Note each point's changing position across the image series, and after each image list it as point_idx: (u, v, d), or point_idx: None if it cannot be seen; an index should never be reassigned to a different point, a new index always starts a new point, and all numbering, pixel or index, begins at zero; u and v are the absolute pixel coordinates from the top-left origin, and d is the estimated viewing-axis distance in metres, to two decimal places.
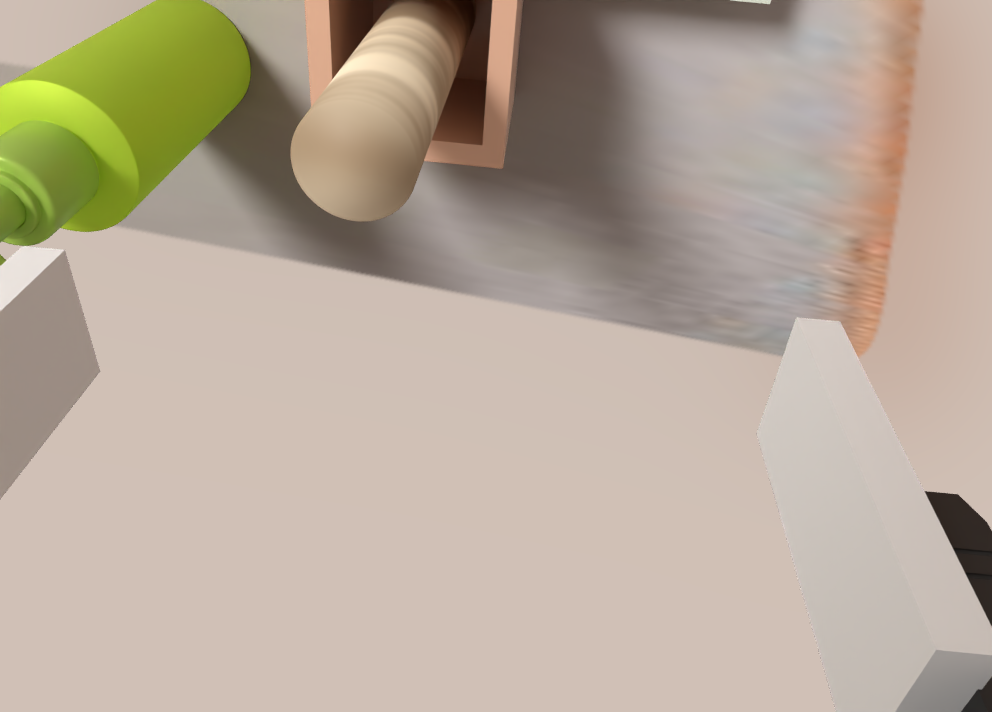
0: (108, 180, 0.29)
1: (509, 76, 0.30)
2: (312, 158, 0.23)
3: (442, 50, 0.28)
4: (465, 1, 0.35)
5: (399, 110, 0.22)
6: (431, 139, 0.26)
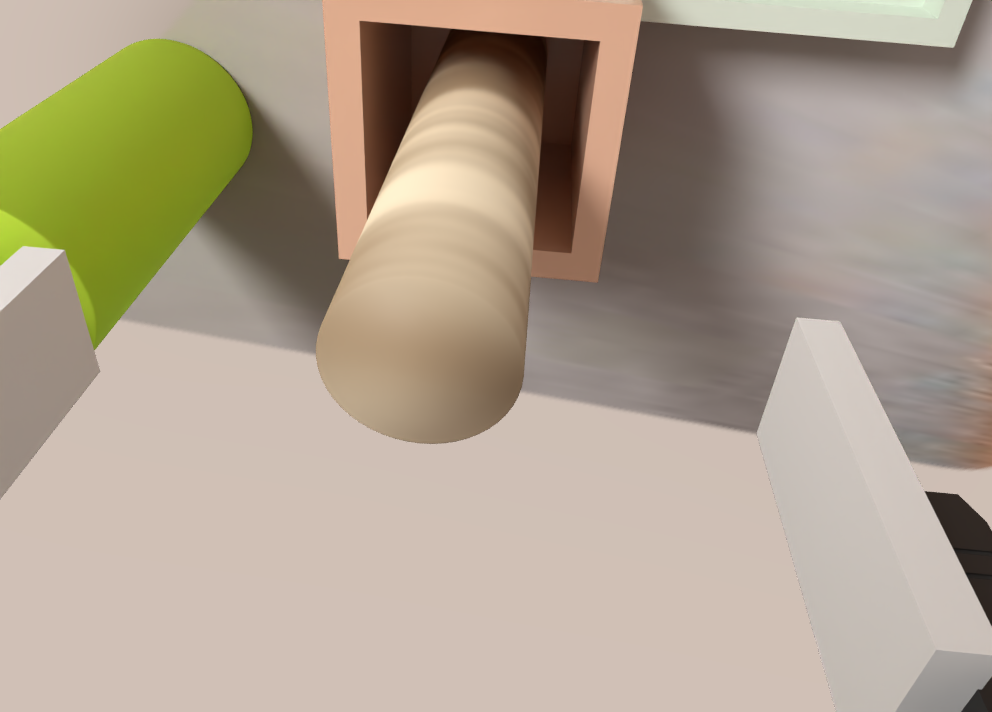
0: None
1: (615, 164, 0.22)
2: (351, 359, 0.14)
3: (528, 138, 0.20)
4: (538, 48, 0.26)
5: (494, 282, 0.14)
6: None
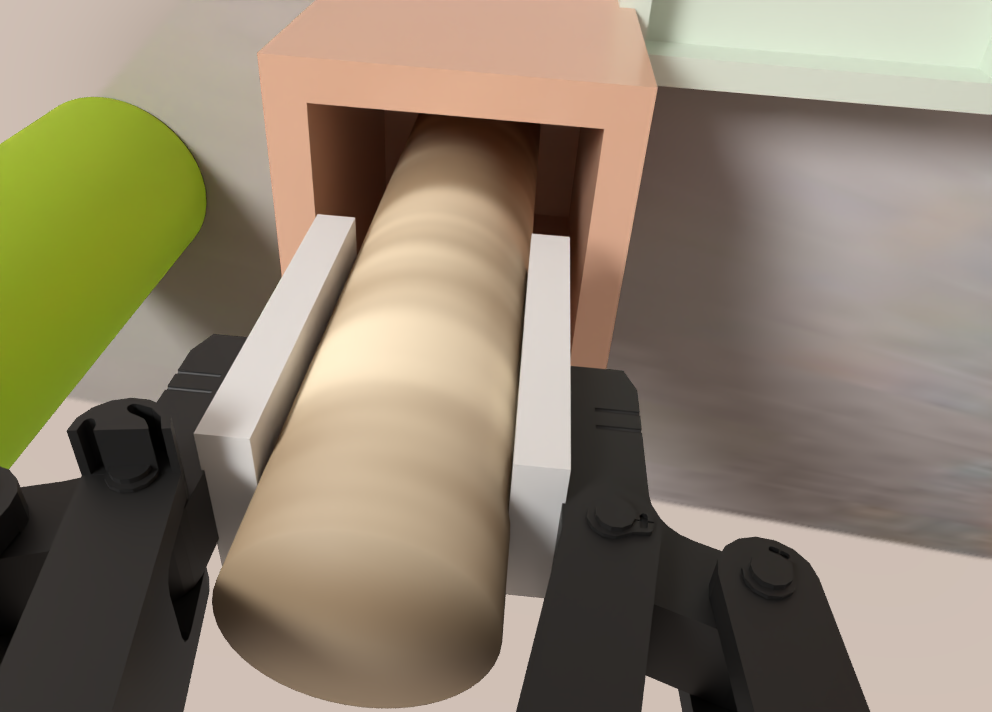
0: None
1: (621, 270, 0.18)
2: (263, 618, 0.10)
3: (515, 250, 0.16)
4: None
5: (460, 516, 0.10)
6: None
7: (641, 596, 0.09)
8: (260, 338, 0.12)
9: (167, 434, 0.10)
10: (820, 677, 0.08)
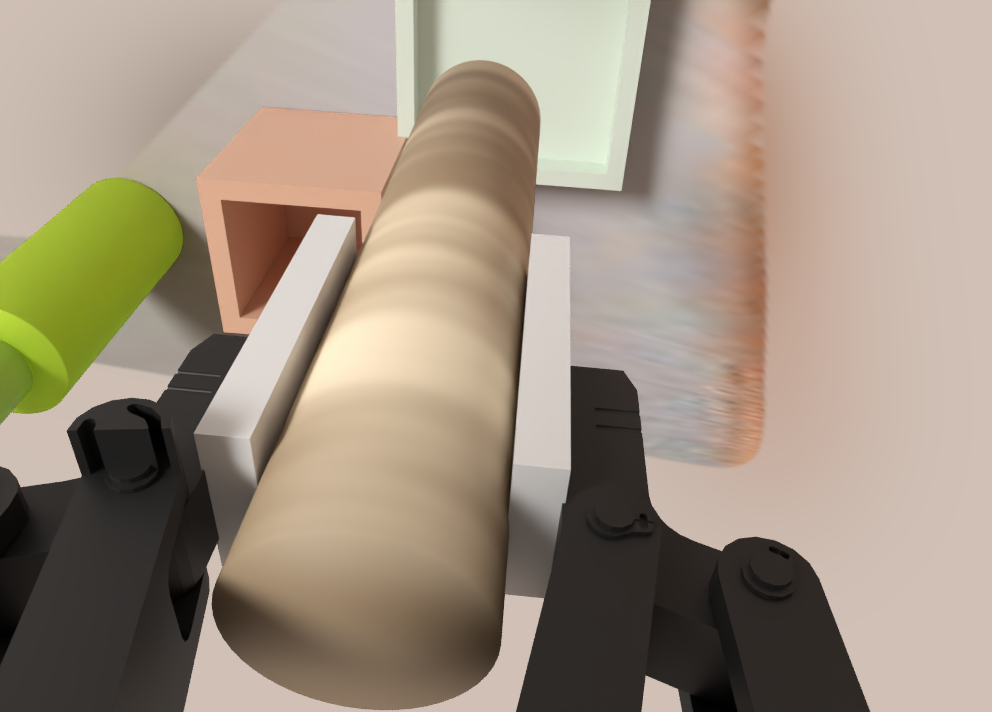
0: (41, 378, 0.35)
1: None
2: (262, 620, 0.10)
3: (514, 252, 0.16)
4: (530, 117, 0.22)
5: (459, 518, 0.10)
6: None
7: (641, 596, 0.09)
8: (260, 338, 0.12)
9: (167, 434, 0.10)
10: (820, 677, 0.08)
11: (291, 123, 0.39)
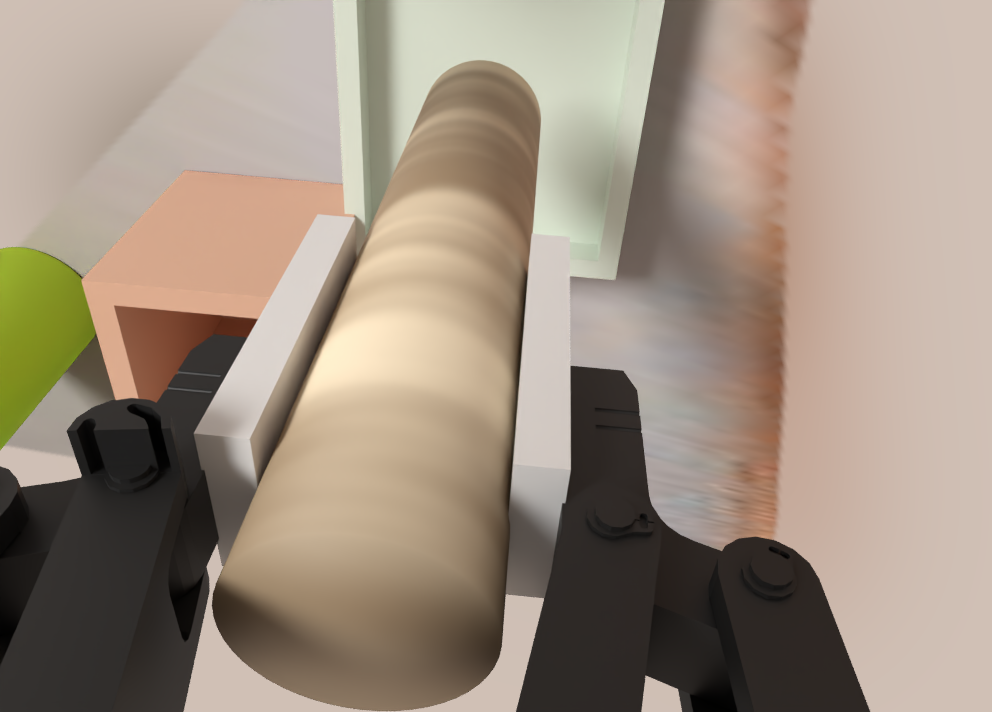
0: None
1: None
2: (263, 621, 0.10)
3: (515, 252, 0.16)
4: (530, 118, 0.22)
5: (460, 519, 0.10)
6: None
7: (641, 596, 0.09)
8: (260, 338, 0.12)
9: (167, 434, 0.10)
10: (820, 676, 0.08)
11: (216, 194, 0.32)
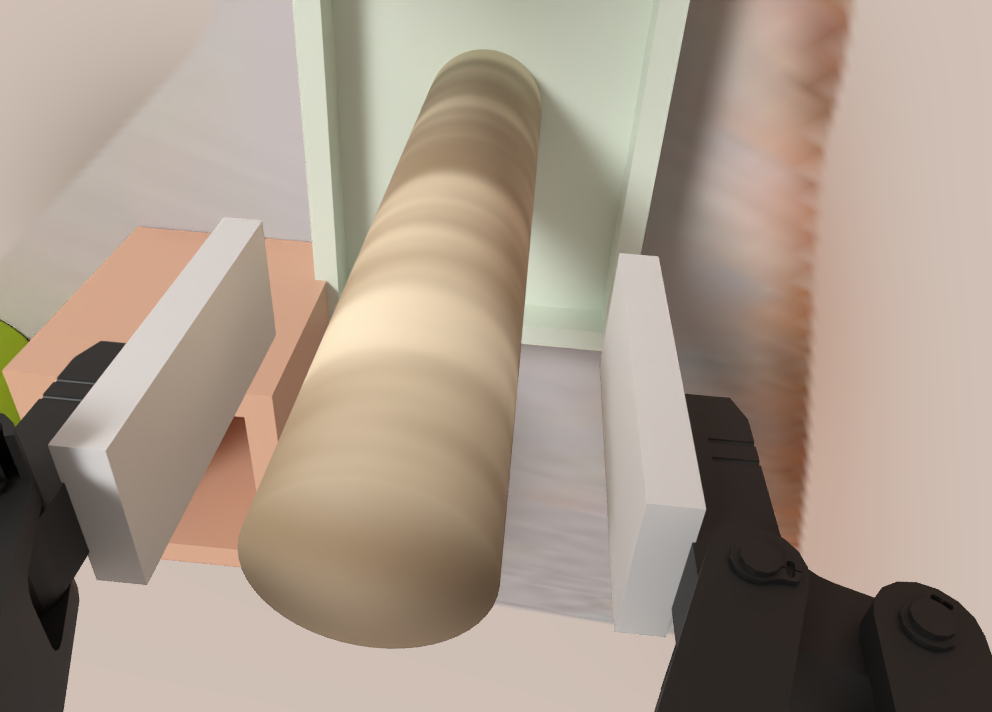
0: None
1: None
2: (283, 562, 0.11)
3: (515, 232, 0.17)
4: (531, 105, 0.23)
5: (462, 470, 0.11)
6: None
7: (784, 648, 0.09)
8: (138, 345, 0.12)
9: (11, 441, 0.10)
10: None
11: (170, 257, 0.28)
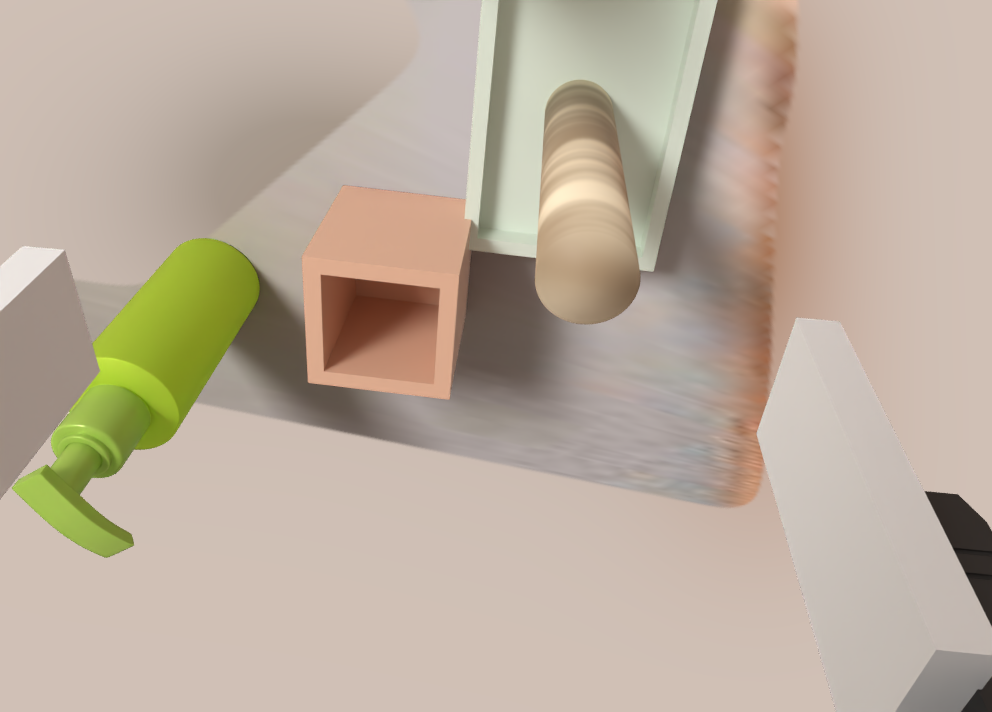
0: (156, 421, 0.40)
1: (452, 343, 0.42)
2: (553, 275, 0.27)
3: (621, 168, 0.33)
4: (612, 111, 0.40)
5: (626, 238, 0.27)
6: None
7: None
8: None
9: None
10: None
11: (371, 203, 0.45)
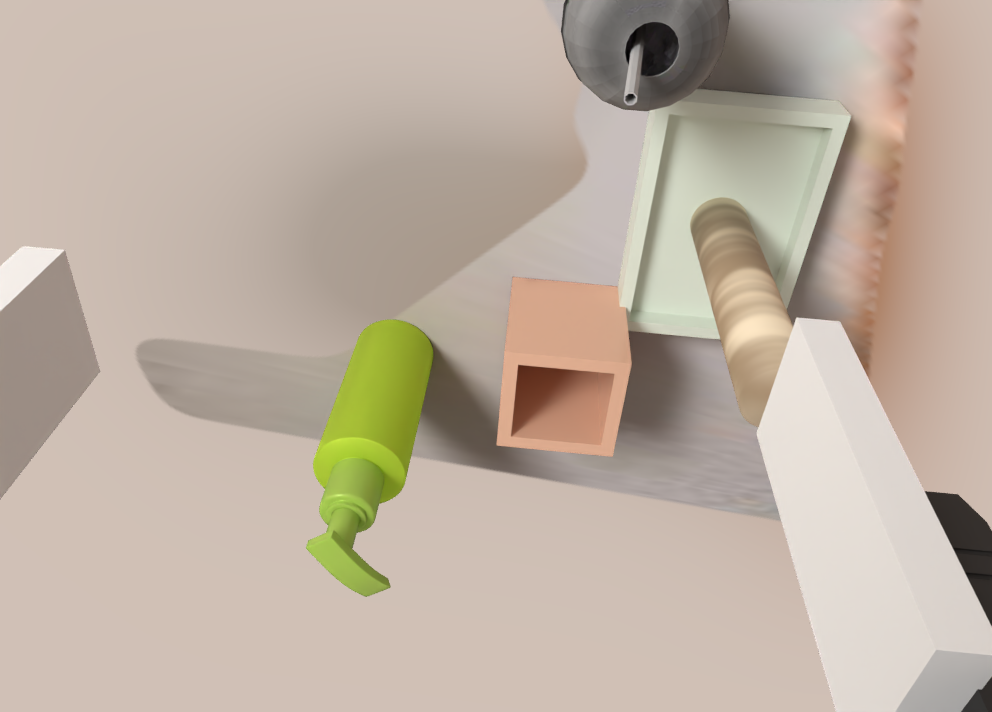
0: (388, 484, 0.50)
1: (620, 414, 0.51)
2: (753, 397, 0.37)
3: None
4: None
5: None
6: None
7: None
8: None
9: None
10: None
11: (541, 294, 0.55)
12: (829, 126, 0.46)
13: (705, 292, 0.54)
